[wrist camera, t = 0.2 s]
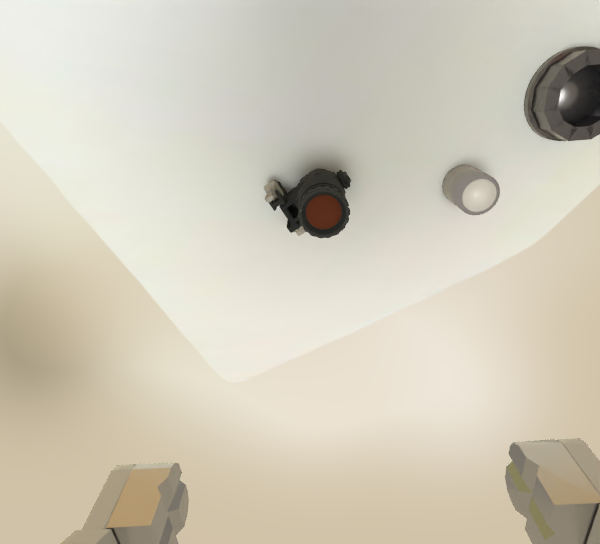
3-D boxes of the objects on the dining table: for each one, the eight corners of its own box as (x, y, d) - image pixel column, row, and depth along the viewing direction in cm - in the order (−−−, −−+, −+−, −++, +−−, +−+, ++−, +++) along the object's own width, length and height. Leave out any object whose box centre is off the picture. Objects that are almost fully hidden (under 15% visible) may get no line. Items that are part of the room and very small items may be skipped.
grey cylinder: (443, 166, 53) (460, 176, 48) (482, 163, 53) (503, 173, 47) (441, 203, 55) (456, 217, 50) (478, 200, 55) (497, 214, 50)
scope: (252, 212, 42) (335, 158, 40) (265, 182, 54) (328, 140, 52) (296, 272, 45) (375, 225, 42) (298, 230, 57) (359, 192, 55)
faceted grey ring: (531, 51, 47) (550, 48, 44) (622, 43, 47) (649, 40, 43) (518, 142, 52) (534, 147, 48) (601, 136, 51) (624, 140, 48)
